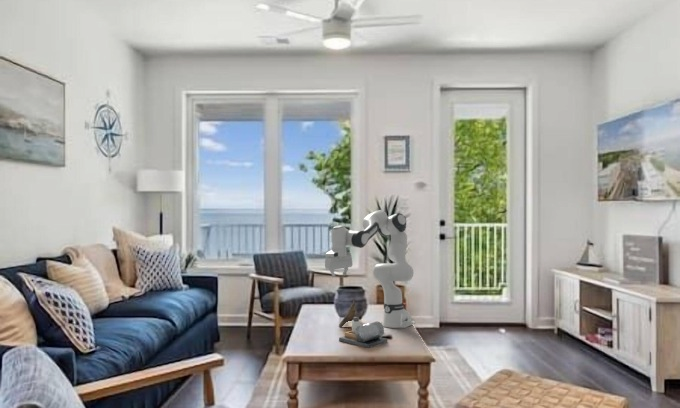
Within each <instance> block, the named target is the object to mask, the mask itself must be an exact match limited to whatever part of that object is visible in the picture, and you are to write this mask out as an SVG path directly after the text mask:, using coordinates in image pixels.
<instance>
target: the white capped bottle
mask: <svg viewBox="0 0 680 408" xmlns="http://www.w3.org/2000/svg"><path fill="white" fill-rule="evenodd" d="M360 325H362V324H361V320H360V316H356V317H353V320H352V327H351V331H352V334H355V330H356V328H357V327H358V326H360Z"/></svg>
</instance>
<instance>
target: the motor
mask: <svg viewBox="0 0 680 408" xmlns="http://www.w3.org/2000/svg"><path fill="white" fill-rule="evenodd" d="M381 323H382V322H380V321H372V322H369V323H365V324H361V325H360V326H358V327H357V328H356V330H355V334H352V330H349V331H346V332H344V336H340V337H338V342H342V343H345V344H350V345H353V346H359V347H363V348H367V349H370V348H374V347H377V346H380V345H383V344H386V343H388V338H386V337H383V336H384V333H385V329H384V328H385V327H384V326H383V325H382V324H381Z"/></svg>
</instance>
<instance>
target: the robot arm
mask: <svg viewBox="0 0 680 408" xmlns="http://www.w3.org/2000/svg"><path fill="white" fill-rule="evenodd" d="M387 214H388V213H386V212H385V210H382V209H379V210H375V211H372V212H371V213H369V214H367V215H366V216H364V217H363V219H362V223H361V224H362V227H363V229H364V230H350V229H348V228H346V226H345V225H344V224H343V225H341V224H339V225H335V226H334V227H332V229H331V236H330V238H331V241H330V242H331V249H330V250H329V251H326V253H325V254H324V256H325V260H324V267H325V268H324V269H325V270H327V271H329V272H330V274H331V277H332V278H336V275H337V274H336V273H335V270H340V269H341V270H342V269H343V272H342V276H347V274H348V273H347V272H348V270H349V268H352V267H353V258H352V253H351V252H350V251H347V247H352V248H353V247H354V248H358V249H359V248H364V247H365V246H366V245H367V243H368V241H369V240H370V239H371V238H373V237H374V236H375V235H376V234H377V233H378V234H379V235H380V236H382V237H389V236H390V241H389V246H388V251H387V258H388V259H389V260H391V261H392V263H390V262H389V263H387V262H382V263H376V264H375V266H373V269H372V275H373V277H374V278H375V280H376V281H378V282H379V283H380V286H381V287H382V290H383V295H384V296H383V298H384V301H383V311H382V321H381V322H380V323H381V324H382V325H383V327H384V328H390V329H392V328H393V329H396V328H398V329H399V328H400V329H404V328H405V329H406V328H408V327H410V326H413V325H415V324H416V322H415V320H412V315H411V313H410V312H409V311H407V310H406V309H405V307H407V305H408V304H407V303H406V302H403V291H402V289H401V287H399V286H396V285H395V283H394V282H401V283H403V282H409V281H411V280H412V278H413V277H414V269H413V267H412V266H411V264H409V263H408V262H407V260H406V255H407V254H406V252H407V246H408V236H407V234H406V229H407V219H406V216H405V215H404V214H403V213H401V212H399V213H398V212H397V213H394V214H392V215H390V216H388V215H387Z"/></svg>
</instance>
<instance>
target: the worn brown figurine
mask: <svg viewBox="0 0 680 408" xmlns="http://www.w3.org/2000/svg"><path fill="white" fill-rule="evenodd" d="M355 303H356V300H355V299H354V300H353V302H352V304H351V305H350V307H349V309H348V310H347V311H346V312H347V313H346V314H345V316H344V317H343V319H342V320H341V321H340V323H339V324H338V327H339V328H341V327H342V326H343V325H344V324H345V323H346V322H348V321H352V320H353V317H357V312H356V311H357V305H356V304H355Z"/></svg>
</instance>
